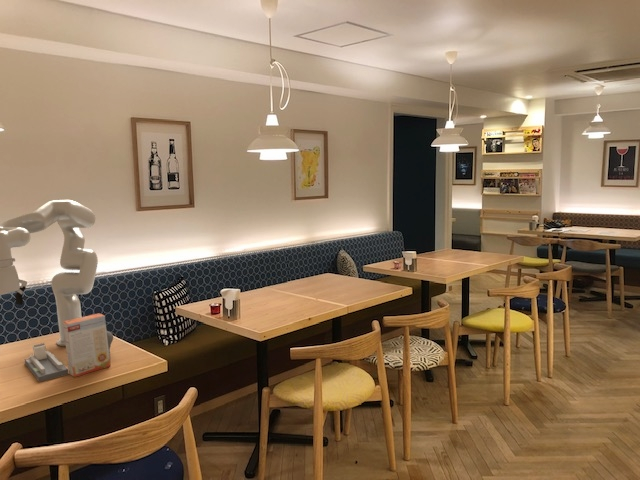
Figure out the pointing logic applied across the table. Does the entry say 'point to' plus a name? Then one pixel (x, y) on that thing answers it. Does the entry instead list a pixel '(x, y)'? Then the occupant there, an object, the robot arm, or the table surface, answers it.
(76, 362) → the cracker box
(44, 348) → the switch tab
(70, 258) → the robot arm
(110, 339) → the light bulb
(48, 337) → the table surface
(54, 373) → the switch panel
